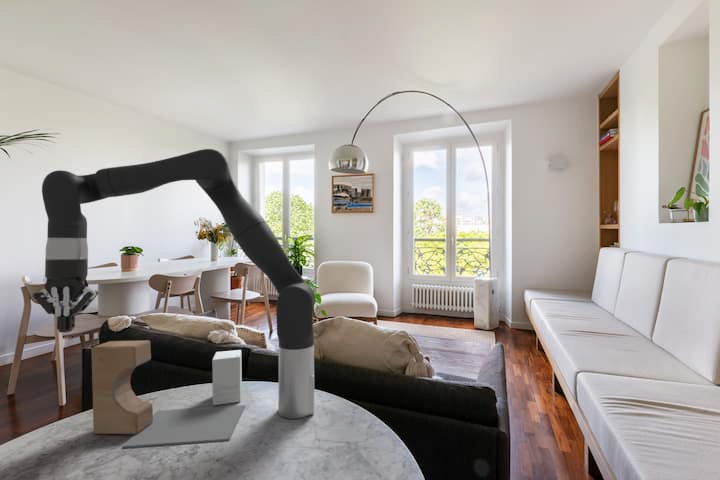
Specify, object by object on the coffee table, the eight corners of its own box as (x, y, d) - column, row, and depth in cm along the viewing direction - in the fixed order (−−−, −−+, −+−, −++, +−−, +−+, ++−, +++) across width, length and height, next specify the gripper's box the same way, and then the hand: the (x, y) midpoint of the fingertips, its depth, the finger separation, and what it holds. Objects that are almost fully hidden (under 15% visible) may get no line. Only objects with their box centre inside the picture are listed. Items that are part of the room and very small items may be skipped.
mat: (244, 406, 90) (244, 405, 90) (229, 440, 74) (229, 438, 74) (158, 412, 88) (158, 410, 88) (122, 448, 72) (122, 446, 72)
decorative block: (154, 422, 81) (151, 339, 82) (136, 435, 76) (133, 346, 76) (112, 421, 83) (110, 340, 83) (91, 434, 77) (89, 347, 77)
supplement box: (242, 391, 100) (242, 349, 100) (240, 402, 93) (240, 356, 93) (215, 394, 98) (216, 351, 98) (211, 406, 91) (211, 359, 91)
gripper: (107, 257, 83) (106, 327, 83) (48, 257, 81) (47, 328, 81) (87, 257, 76) (85, 334, 75) (21, 258, 74) (19, 336, 74)
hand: (65, 331), depth 78 cm, fingers closed
